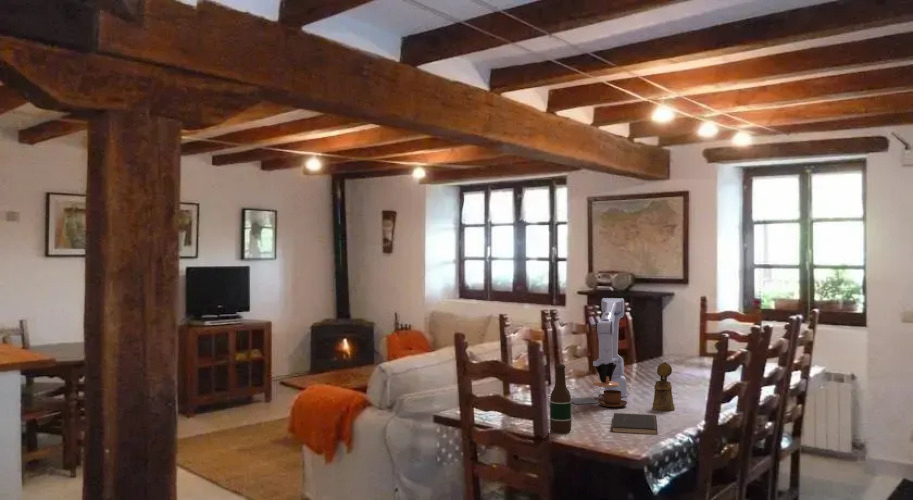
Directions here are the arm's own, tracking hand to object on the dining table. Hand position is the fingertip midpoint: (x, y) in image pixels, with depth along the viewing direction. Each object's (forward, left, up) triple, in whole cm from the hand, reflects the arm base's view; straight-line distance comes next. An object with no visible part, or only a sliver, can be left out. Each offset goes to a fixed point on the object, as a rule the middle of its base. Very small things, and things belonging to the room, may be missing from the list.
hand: (605, 381), depth 302 cm
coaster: (+6, -10, -10) cm, 15 cm away
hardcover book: (+6, +35, -11) cm, 38 cm away
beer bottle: (+36, +35, -10) cm, 52 cm away
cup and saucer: (-2, +2, -10) cm, 11 cm away
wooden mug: (-21, +11, -10) cm, 26 cm away
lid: (0, 0, -1) cm, 1 cm away
